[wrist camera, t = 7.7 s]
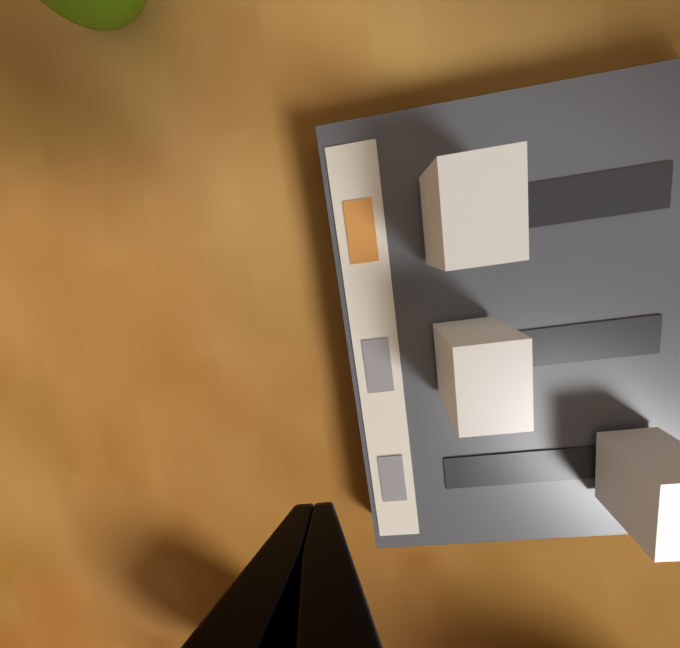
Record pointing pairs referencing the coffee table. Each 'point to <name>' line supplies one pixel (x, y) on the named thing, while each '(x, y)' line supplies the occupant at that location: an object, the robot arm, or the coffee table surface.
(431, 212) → the near slider
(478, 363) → the middle slider
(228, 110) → the coffee table surface
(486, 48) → the coffee table surface
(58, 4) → the snail figurine
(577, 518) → the switch panel
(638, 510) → the far slider
